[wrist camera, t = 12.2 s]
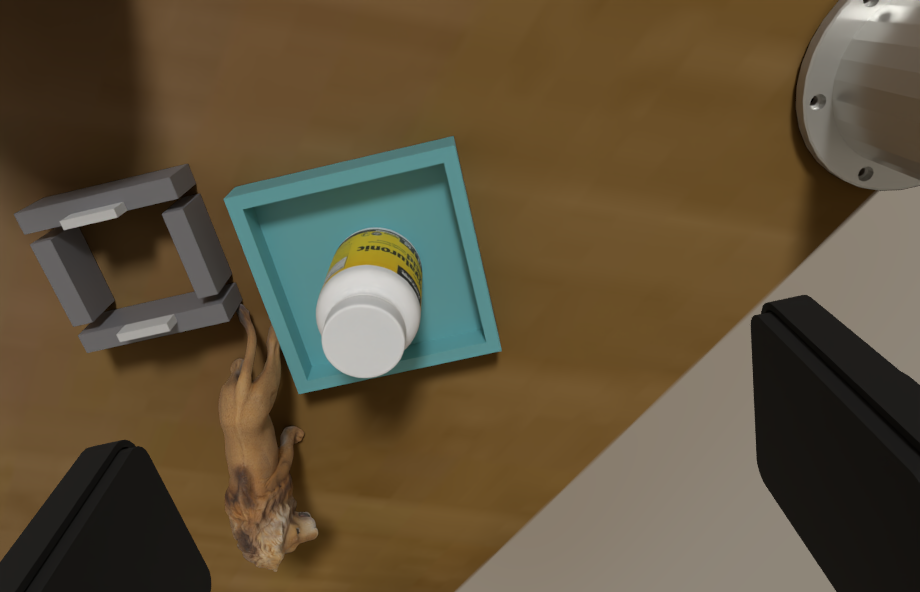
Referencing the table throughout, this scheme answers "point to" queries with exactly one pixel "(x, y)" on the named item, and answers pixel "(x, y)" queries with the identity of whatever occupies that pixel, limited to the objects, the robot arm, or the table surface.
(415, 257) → the supplement bottle
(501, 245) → the table surface
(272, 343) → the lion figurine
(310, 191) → the tray
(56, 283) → the clip holder
